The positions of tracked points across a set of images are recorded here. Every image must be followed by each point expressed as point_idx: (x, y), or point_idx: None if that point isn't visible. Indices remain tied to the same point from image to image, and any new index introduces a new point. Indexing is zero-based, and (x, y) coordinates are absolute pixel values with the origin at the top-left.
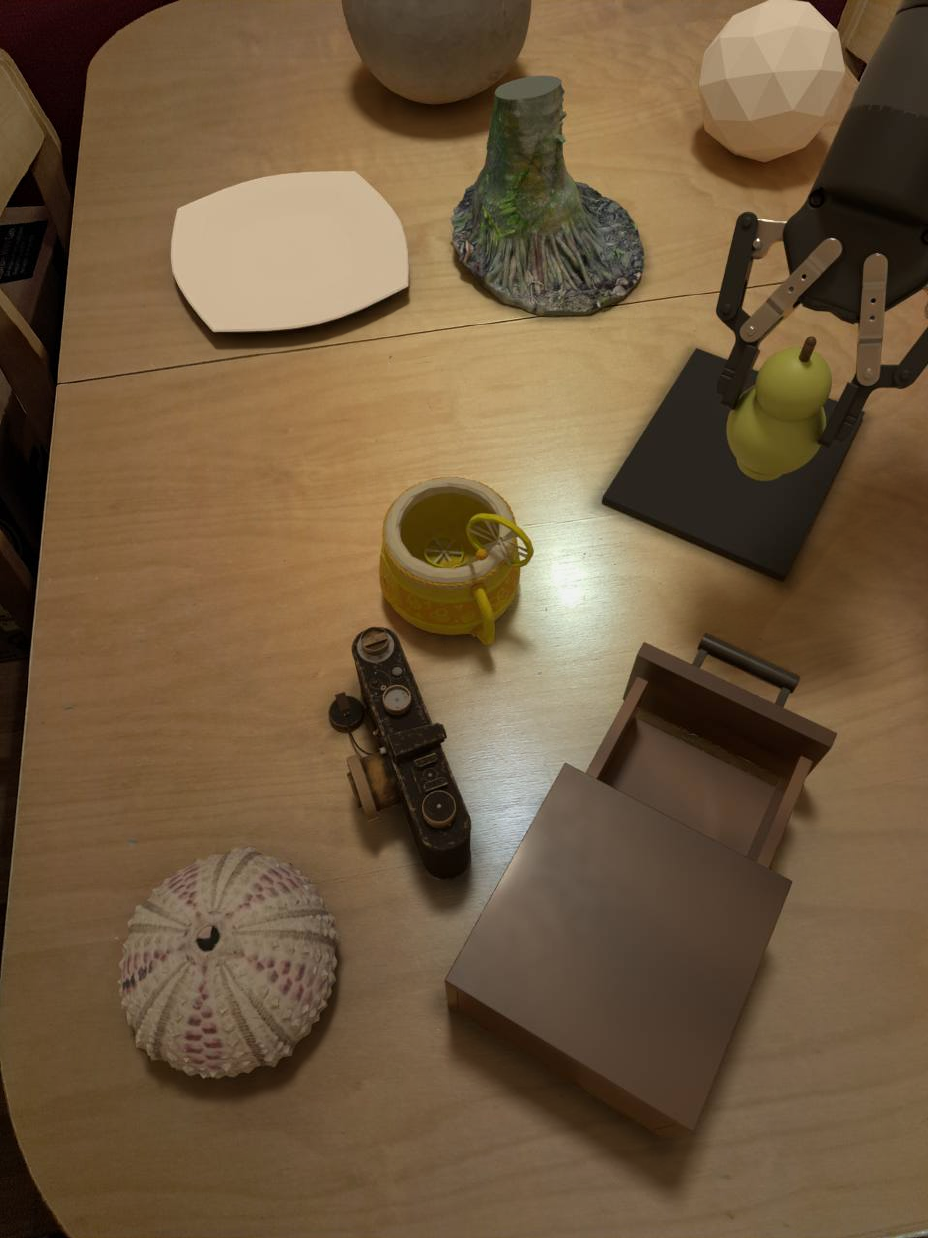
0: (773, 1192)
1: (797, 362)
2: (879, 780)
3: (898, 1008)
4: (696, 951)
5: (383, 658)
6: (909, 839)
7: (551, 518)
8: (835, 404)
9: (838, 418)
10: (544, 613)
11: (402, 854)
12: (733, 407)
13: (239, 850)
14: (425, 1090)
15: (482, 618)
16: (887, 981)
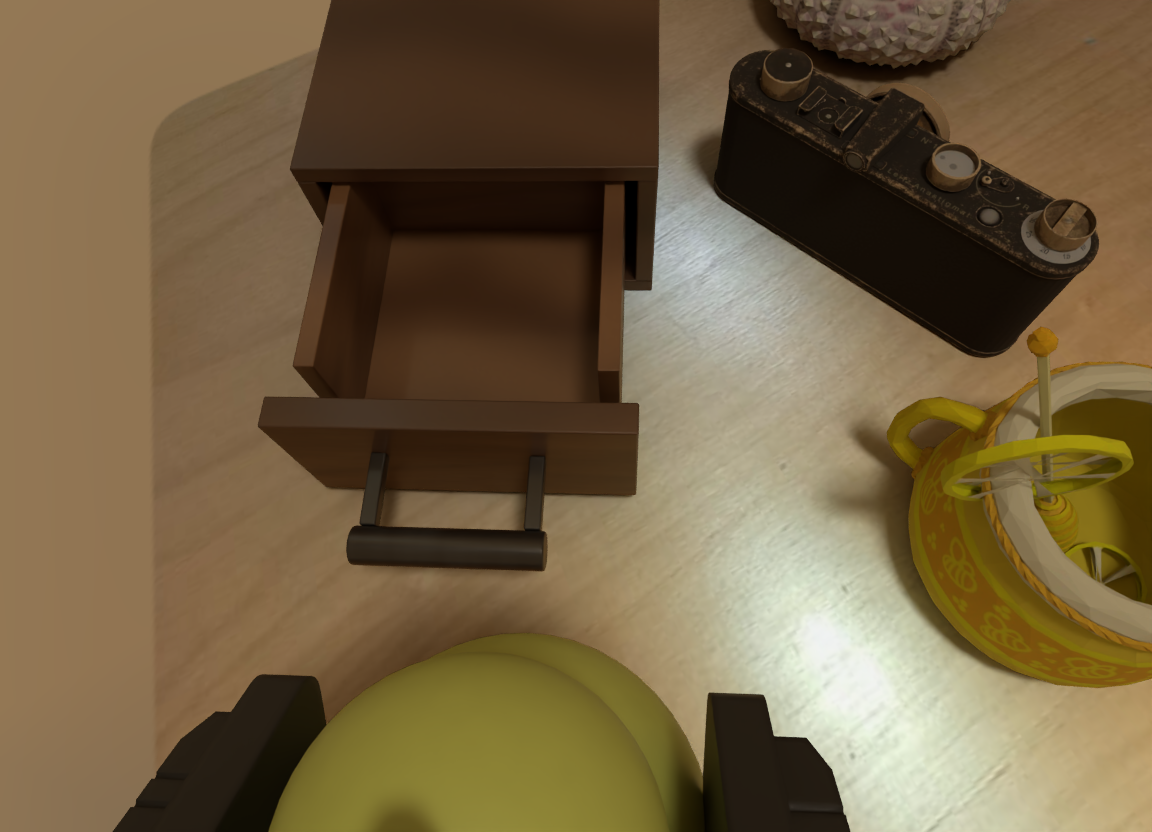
0: (286, 83)
1: (458, 823)
2: (214, 547)
3: (174, 274)
4: (392, 50)
5: (1026, 222)
6: (165, 477)
7: (969, 817)
8: None
9: (222, 752)
10: (842, 579)
11: None
12: (704, 765)
13: (974, 12)
14: None
15: (933, 457)
16: (188, 295)
